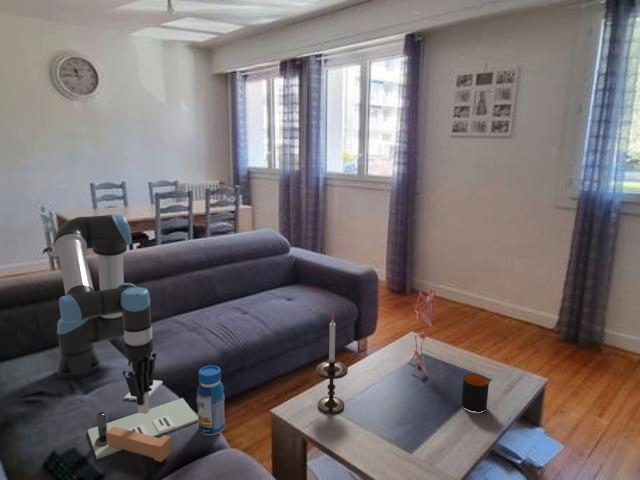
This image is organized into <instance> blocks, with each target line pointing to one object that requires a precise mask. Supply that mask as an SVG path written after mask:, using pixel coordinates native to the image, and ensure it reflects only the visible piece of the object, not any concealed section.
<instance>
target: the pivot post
mask: <svg viewBox="0 0 640 480" xmlns="http://www.w3.org/2000/svg"><path fill="white" fill-rule="evenodd" d="M96 423H97V426H98V434H99V438H97V439H96V445H97V446H105V445H107V437H106V432H107V423H108V422H107V414H106V412H105V411H101V412H98V413H97V414H96Z"/></svg>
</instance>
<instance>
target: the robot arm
mask: <svg viewBox="0 0 640 480" xmlns="http://www.w3.org/2000/svg"><path fill="white" fill-rule="evenodd" d="M132 242H133V239H132V234H131V230H130V226H129V222H128V220H127V218H126V217H125V215H123V214H111V213H110V214H108V215H92V216H90V215H89V216H78V217H74V218H72V219H69V220H67V221H66V222H65V223H64V224H62V225H61V226H60V228H59V229H58V230H57V232H56V234H55V236H54V238H53V249H54V251H55V253H56V254H57V256H58V258H59V265H60V269H61V270H60V271H61V276H62V282H63V287H64V288H63V289H64V295H63V296H62V295H61V296H60V297H59V299H58V303H59V304H58V305H59V310H60V311H59V312H60V319H59V320H58V321H57V325H56V326H57V330H56V334H57V335H58V345H59V354H60V356H59V360H58V364H57V368H56V375H57V377H58V378H59V379H62V380H79V379H82V378H86V377H89V376H91V375H93V374H95V373H96V372H98V371H99V369H101V359H100V358H99V356H98V354H97V352H96V350H95V346H94V344H97V343H101V342H105V341H110V340H115V339H116V340H117V339H123V338H124V351H125V352H124V354H125V357H127V358H128V363H127V364H128V365H127V366H128V368H127V369H126V370H124V371H122V376H123V377H124V378H125V380H126V384H127V388H128V391H129V392H130V394H131V396H134V397H137V401H136V405H137V410H138V411H137V413H143V414H147V413H148V412H149V409H150V405H149V404H150V402H149V401H150V400H149V398H150V397H149V392H148V391H151V390H152V388H150V386H152V385H153V380H154V377H155V375H154V374H155V364H156V362H155V361H156V358H157V353H155V352H153V350H154V342H153V326H152V316H151V315H152V313H151V301H152V300H151V297H150V292H149V290H148V289H147V288H145V287H142V286H141V287H140V286H136V285H135V284H133V283H132V282H125V280H124V278H125V277H124V276H125V275H124V254H125V253H126V252H127V251H128V246H130V245H133V243H132ZM89 249H91V250H92V252H93V253H94V254H95V255H96V256H97V262H98V263H97V265H98V266H97V267H98V278H99V279H98V281H99V290H96V291H95V289H94V285H93V280H92V276H91V272H90V267H89V263H88V259H87V256H86V255H87V254H86V251H87V250H89Z"/></svg>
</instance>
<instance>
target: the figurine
mask: <svg viewBox="0 0 640 480" xmlns="http://www.w3.org/2000/svg"><path fill="white" fill-rule="evenodd" d="M418 293H419V294H418V298H417V301H416V305H415V308H414V312H415V313H416V324H418V323H419V321H420V318H421V319H422V321H423V322H424V323H425V324H424V329H423V331H421V332H419V334H418V335H414V340H415V349H416V350H414V352H413V353H414V355H413V356H412V358H411V359H410V361H409V362H411V363H412V362H413V360H414V359H415V357H417V359H418V360H417V362H418V364H417V365H416V367H415V368H414V370H413V371H412V373H414V374H415V372H416V371H417V369H418V367H420V368H421V370H422V372H424V374H425V375H426V376H428V377H429V374H428V372H427V369H426V368H425V366H424V365H423V363H422V361H423V358H422V354H423V353H422V350H423V344H424V342H425V341H424V340H425V339H426V337H427V333H426V330H427V326H428V327H429V328H430V329H432V330H433V329H434V326H433V324H432V321H431V320H432V319H433V317H434V309H436V307H437V302H436V298H435V297H436V295H435V294H436V289H435V288H432V286H431V285H430V286H429V288H428V295H427V296H425V295H424V293H422V291H419V292H418ZM421 298H422V300H423V301H424V302H425V304H424V305H423V306H422V307H421V308H420V310H419V311H417V309H418V304H419V301H420V299H421ZM426 306H427V307H426ZM425 307H426V313H425V312H423V311H422V310H423V309H424V308H425ZM429 316H430V318H429ZM417 337H419V338H420V339H423V340H422V341H421V345H420V353H419V351H418V344H417Z"/></svg>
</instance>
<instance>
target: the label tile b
mask: <svg viewBox="0 0 640 480" xmlns="http://www.w3.org/2000/svg"><path fill="white" fill-rule="evenodd" d="M152 421H153V423H154V425H155V426H156V428H157V430H158V432H162V431H165V430H167V429H170V428H173V427H175V425H174V423H173V422H172V420H171V419H170V417H169V416H168V415H167V416H164V417H161V418H158V419H155V420H152Z"/></svg>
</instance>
